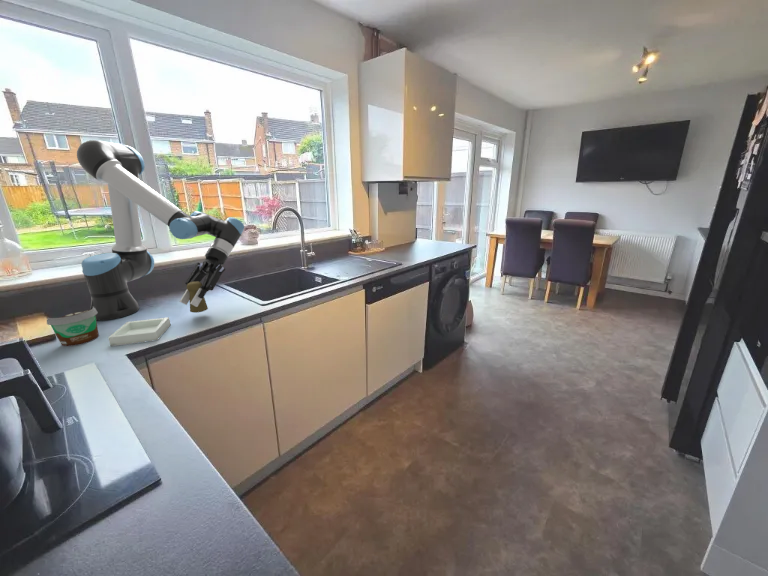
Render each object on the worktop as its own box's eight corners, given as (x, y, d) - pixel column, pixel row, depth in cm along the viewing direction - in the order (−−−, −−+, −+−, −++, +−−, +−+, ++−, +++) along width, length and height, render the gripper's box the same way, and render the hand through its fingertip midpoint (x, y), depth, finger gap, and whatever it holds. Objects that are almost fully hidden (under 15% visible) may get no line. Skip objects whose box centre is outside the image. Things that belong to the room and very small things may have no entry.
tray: (129, 329, 114) (127, 321, 113) (170, 324, 117) (168, 317, 117) (110, 346, 102) (108, 337, 101) (157, 340, 106) (155, 332, 105)
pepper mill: (200, 313, 120) (194, 284, 117) (186, 312, 122) (180, 284, 118) (211, 307, 126) (206, 280, 123) (198, 306, 127) (192, 279, 124)
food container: (61, 351, 99) (51, 321, 96) (55, 347, 102) (44, 317, 99) (110, 336, 109) (102, 308, 106) (103, 332, 112) (94, 305, 109)
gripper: (242, 259, 128) (213, 312, 119) (210, 255, 136) (180, 305, 126) (229, 248, 122) (197, 303, 113) (196, 245, 129) (163, 296, 120)
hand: (188, 304), depth 120 cm, fingers closed on pepper mill, 5 cm apart
